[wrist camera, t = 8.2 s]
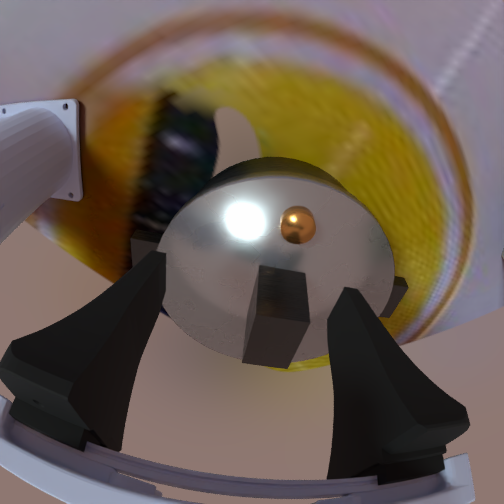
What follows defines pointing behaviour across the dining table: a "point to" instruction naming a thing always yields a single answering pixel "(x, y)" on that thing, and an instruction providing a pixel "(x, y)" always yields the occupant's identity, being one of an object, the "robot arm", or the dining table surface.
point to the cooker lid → (271, 265)
